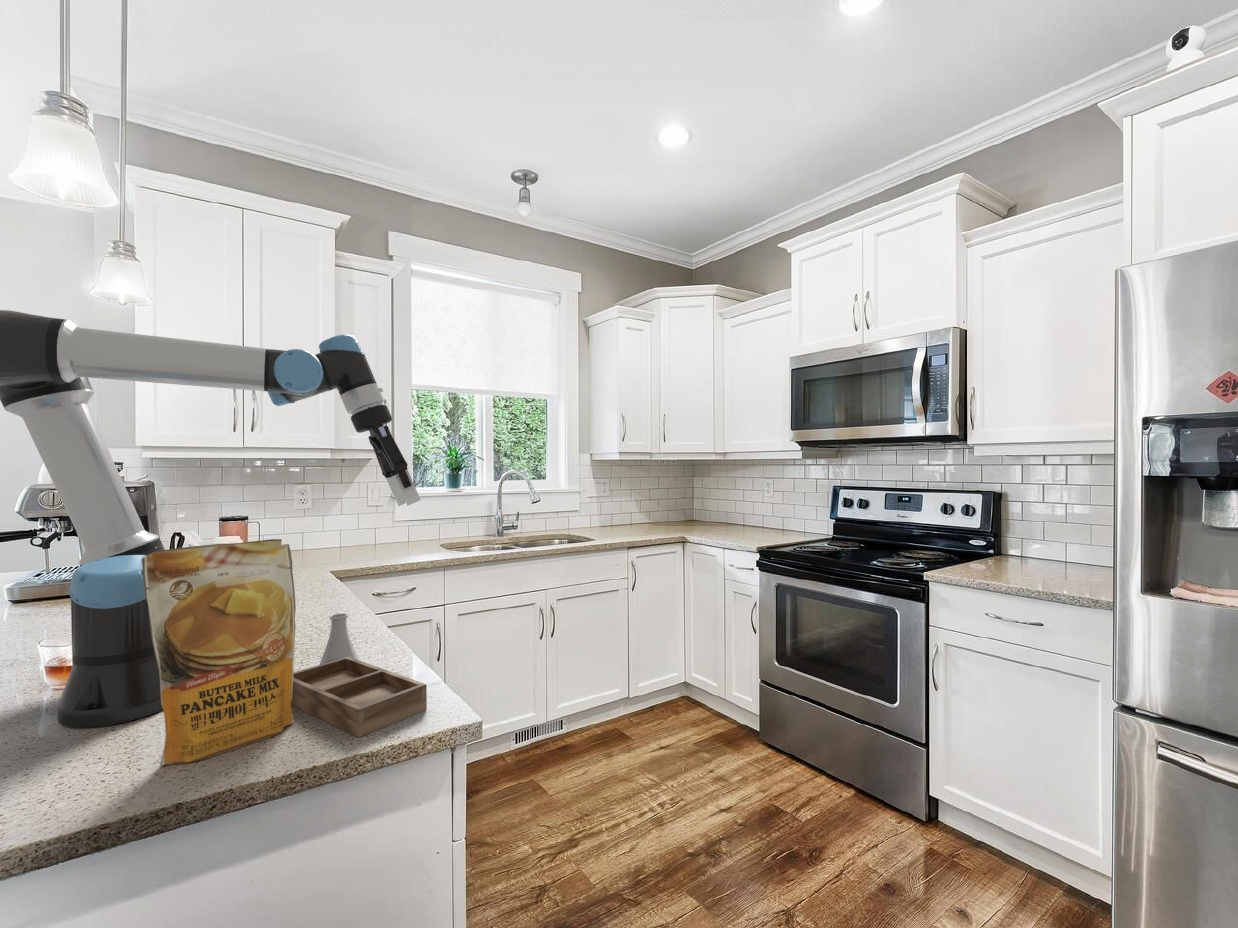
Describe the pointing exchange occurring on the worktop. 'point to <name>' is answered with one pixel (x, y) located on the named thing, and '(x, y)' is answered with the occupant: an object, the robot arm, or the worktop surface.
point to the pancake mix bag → (222, 644)
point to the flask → (338, 640)
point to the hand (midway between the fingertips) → (409, 503)
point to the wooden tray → (357, 695)
